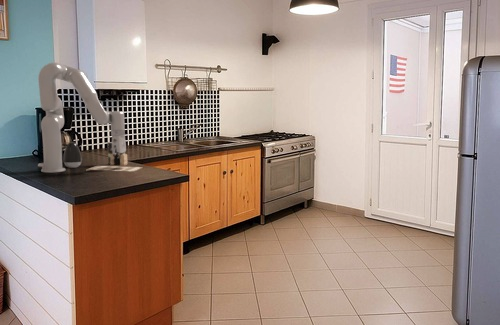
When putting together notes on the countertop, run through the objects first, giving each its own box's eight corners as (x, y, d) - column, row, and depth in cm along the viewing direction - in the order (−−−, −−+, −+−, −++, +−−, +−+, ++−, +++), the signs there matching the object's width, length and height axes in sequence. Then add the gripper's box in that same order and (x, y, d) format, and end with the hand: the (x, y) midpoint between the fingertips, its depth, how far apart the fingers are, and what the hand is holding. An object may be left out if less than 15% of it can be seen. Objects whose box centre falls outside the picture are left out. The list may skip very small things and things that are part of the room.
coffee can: (125, 166, 275) (124, 143, 273) (107, 166, 272) (107, 143, 270) (125, 164, 285) (124, 141, 283) (108, 164, 282) (107, 142, 280)
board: (86, 171, 253) (86, 169, 253) (97, 167, 268) (97, 165, 268) (134, 173, 250) (133, 171, 250) (143, 169, 265) (143, 167, 265)
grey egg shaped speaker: (63, 166, 271) (62, 141, 269) (81, 165, 274) (81, 140, 272) (62, 168, 261) (61, 142, 259) (81, 168, 265) (81, 142, 263)
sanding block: (110, 165, 256) (110, 155, 256) (114, 164, 261) (113, 153, 260) (124, 165, 256) (123, 155, 255) (127, 164, 260) (127, 154, 260)
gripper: (118, 134, 247) (119, 166, 250) (129, 132, 264) (130, 162, 266) (105, 134, 248) (106, 166, 250) (117, 131, 265) (118, 162, 267)
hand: (119, 164), depth 258 cm, fingers closed on sanding block, 5 cm apart
